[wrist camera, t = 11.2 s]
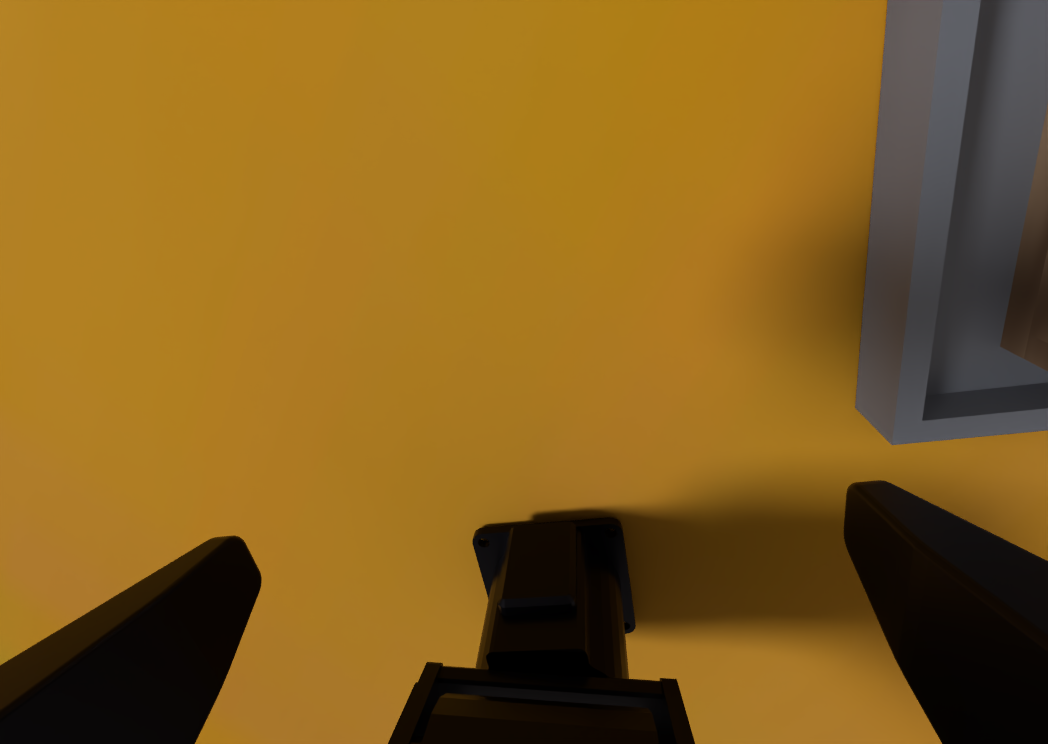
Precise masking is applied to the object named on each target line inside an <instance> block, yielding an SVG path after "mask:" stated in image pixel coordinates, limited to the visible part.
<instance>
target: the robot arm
mask: <svg viewBox="0 0 1048 744" xmlns="http://www.w3.org/2000/svg"><path fill="white" fill-rule="evenodd" d="M607 529H614V531H607ZM482 538H484V539H487V540H488V541H483V540H482ZM844 540H845V544H846V547H847V550H848V553H849V555H850V557H851V559H852V562H853V564H854V566H855V569H856V571H857V573H858V576H859V578H860V580H861V582H862V585H863V587H864V589H865V592H866V594H867V596H868V598H869V601H870V603H871V605H872V608H873V610H874V612H875V615H876V617H877V619H878V621H879V624H880V626H881V628H882V631H883V633H884V635H885V637H886V640H887V642H888V644H889V646H890V649H891V651H892V653H893V655H894V657H895V659H896V661H897V663H898V665H899V667H900V669H901V671H902V673H903V675H904V677H905V678H906V680H907V682H908V684H909V686H910V688H911V689H912V691H913V693H914V695H915V696H916V698H917V700H918V702H919V703H920V705H921V707H922V709H923V710H924V712H925V714H926V716H927V718H928V719H929V721H930V723H931V725H932V726H933V728H934V730H935V732H936V733H937V735H938V737H939V739H940V741H941V742H942V744H1048V561H1047V560H1044V559H1042V558H1040V557H1038V556H1036V555H1034V554H1032V553H1030V552H1028V551H1026V550H1024V549H1022V548H1020V547H1018V546H1016V545H1014V544H1012V543H1010V542H1008V541H1006V540H1004V539H1002V538H1000V537H998V536H996V535H994V534H992V533H990V532H988V531H986V530H984V529H982V528H980V527H978V526H976V525H974V524H972V523H970V522H968V521H966V520H964V519H962V518H960V517H958V516H956V515H954V514H952V513H950V512H948V511H946V510H944V509H942V508H940V507H938V506H935V505H933V504H931V503H929V502H927V501H925V500H923V499H921V498H919V497H917V496H915V495H913V494H911V493H909V492H907V491H905V490H903V489H901V488H899V487H897V486H895V485H893V484H891V483H889V482H886V481H867V482H856V483H853V484H851V485H850V486H849V487H848V489H847V494H846V506H845V519H844ZM473 546H474V550H475V553H476V557H477V560H478V564H479V567H480V571H481V574H482V578H483V581H484V585H485V588H486V592H487V595H488V599H489V600H488V606H487V611H486V616H485V621H484V626H483V632H482V637H481V642H480V647H479V652H478V658H477V663H476V668H465V667H451V666H443V663H434V662H427V663H426V665H425V668H424V670H423V672H422V674H421V676H420V679H419V681H418V683H417V682H416V683H415V685H414V687H413V689H412V692H411V694H410V696H409V698H408V700H407V703H406V705H405V707H404V709H403V711H402V714H401V716H400V718H399V720H398V722H397V725H396V727H395V729H394V731H393V734H392V736H391V738H390V740H389V742H388V744H695V742H694V738H693V735H692V731H691V728H690V724H689V721H688V717H687V714H686V710H685V707H684V703H683V700H682V696H681V693H680V689H679V686H678V682H677V679H666V678H660V681H652V680H638V679H629V673H628V662H627V651H626V640H625V634H627V633H631V632H632V631H634V629H635V626H636V625H635V616H634V609H633V602H632V594H631V587H630V580H629V573H628V565H627V558H626V551H625V543H624V536H623V529H622V524H621V522H620V521H619V520H618V519H615V518H596V519H584V520H571V521H559V522H547V523H534V524H522V525H509V526H497V527H485V528H480V529H478V530H476V532H475V533H474V537H473ZM260 588H261V573H260V571H259V569H258V567H257V565H256V563H255V561H254V559H253V557H252V555H251V553H250V551H249V549H248V547H247V545H246V543H245V542H244V540H243V539H241V538H240V537H238V536H224V537H215V538H212V539H209V540H208V541H206V542H204V543H203V544H201V545H199V546H198V547H196V548H194V549H193V550H191V551H189V552H188V553H186V554H184V555H183V556H181V557H179V558H178V559H176V560H174V561H173V562H171V563H169V564H168V565H166V566H164V567H163V568H161V569H159V570H158V571H156V572H154V573H153V574H151V575H149V576H148V577H146V578H144V579H143V580H141V581H139V582H138V583H136V584H134V585H133V586H131V587H130V588H128V589H126V590H125V591H123V592H121V593H120V594H118V595H116V596H115V597H113V598H111V599H110V600H108V601H106V602H105V603H103V604H101V605H100V606H98V607H96V608H95V609H93V610H91V611H90V612H88V613H86V614H85V615H83V616H81V617H80V618H78V619H76V620H75V621H73V622H71V623H70V624H68V625H66V626H65V627H63V628H61V629H60V630H58V631H56V632H55V633H53V634H51V635H50V636H48V637H47V638H45V639H43V640H42V641H40V642H38V643H37V644H35V645H33V646H32V647H30V648H28V649H27V650H25V651H23V652H22V653H20V654H18V655H17V656H15V657H13V658H12V659H10V660H8V661H7V662H5V663H3V664H2V665H0V744H195V742H196V740H197V738H198V736H199V734H200V732H201V730H202V728H203V726H204V724H205V722H206V720H207V718H208V716H209V714H210V711H211V709H212V707H213V705H214V703H215V701H216V699H217V697H218V695H219V692H220V690H221V688H222V686H223V684H224V681H225V679H226V676H227V674H228V671H229V669H230V666H231V664H232V661H233V659H234V656H235V653H236V651H237V648H238V646H239V643H240V640H241V638H242V635H243V633H244V630H245V627H246V625H247V622H248V620H249V617H250V614H251V612H252V609H253V607H254V604H255V602H256V599H257V596H258V594H259V591H260ZM624 622H625V623H624Z"/></svg>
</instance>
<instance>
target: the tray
mask: <svg viewBox="0 0 1048 744" xmlns="http://www.w3.org/2000/svg"><path fill="white" fill-rule="evenodd" d="M1047 105H1048V0H888V4H887V17H886V29H885V42H884V54H883V67H882V79H881V92H880V104H879V117H878V129H877V142H876V154H875V167H874V180H873V192H872V205H871V217H870V230H869V242H868V255H867V267H866V280H865V292H864V305H863V317H862V330H861V342H860V355H859V367H858V380H857V392H856V405H855V408H856V409H857V410H858V411H859V412H860V413H861V414H862V415H863V416H864V417H865V418H866V419H867V420H868V421H869V422H870V423H871V424H872V425H873V426H874V427H875V428H876V429H877V430H878V431H879V432H880V433H881V434H882V435H883V437H884V438H885V439H886V440H887V441H888V442H889V443H890V444H891V445H897V444H908V443H918V442H929V441H940V440H950V439H961V438H971V437H982V436H992V435H1003V434H1013V433H1024V432H1035V431H1045V430H1048V371H1046V370H1044V369H1042V368H1040V367H1038V366H1036V365H1034V364H1032V363H1031V362H1029V361H1027V360H1025V359H1023V358H1021V357H1019V356H1017V355H1015V354H1013V353H1011V352H1009V351H1008V350H1006V349H1004V348H1002V347H1000V344H1001V339H1002V334H1003V329H1004V323H1005V318H1006V313H1007V308H1008V303H1009V298H1010V293H1011V288H1012V283H1013V278H1014V273H1015V267H1016V262H1017V257H1018V252H1019V247H1020V242H1021V237H1022V232H1023V227H1024V222H1025V217H1026V211H1027V206H1028V201H1029V196H1030V191H1031V186H1032V181H1033V176H1034V171H1035V166H1036V161H1037V155H1038V150H1039V145H1040V140H1041V135H1042V130H1043V125H1044V120H1045V115H1046V110H1047Z"/></svg>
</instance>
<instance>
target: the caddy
mask: <svg viewBox="0 0 1048 744" xmlns="http://www.w3.org/2000/svg"><path fill="white" fill-rule="evenodd" d="M1000 347H1002V348H1004V349H1006V350H1008V351H1009V352H1011V353H1013V354H1015V355H1017V356H1019V357H1021V358H1023V359H1025V360H1027V361H1029V362H1031V363H1032V364H1034V365H1036V366H1038V367H1040V368H1042V369H1044V370H1046V371H1048V105H1047V110H1046V115H1045V120H1044V125H1043V130H1042V135H1041V140H1040V145H1039V150H1038V155H1037V161H1036V166H1035V171H1034V176H1033V181H1032V186H1031V191H1030V196H1029V201H1028V206H1027V211H1026V217H1025V222H1024V227H1023V232H1022V237H1021V242H1020V247H1019V252H1018V257H1017V262H1016V267H1015V273H1014V278H1013V283H1012V288H1011V293H1010V298H1009V303H1008V308H1007V313H1006V318H1005V323H1004V329H1003V334H1002V339H1001V344H1000Z"/></svg>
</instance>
